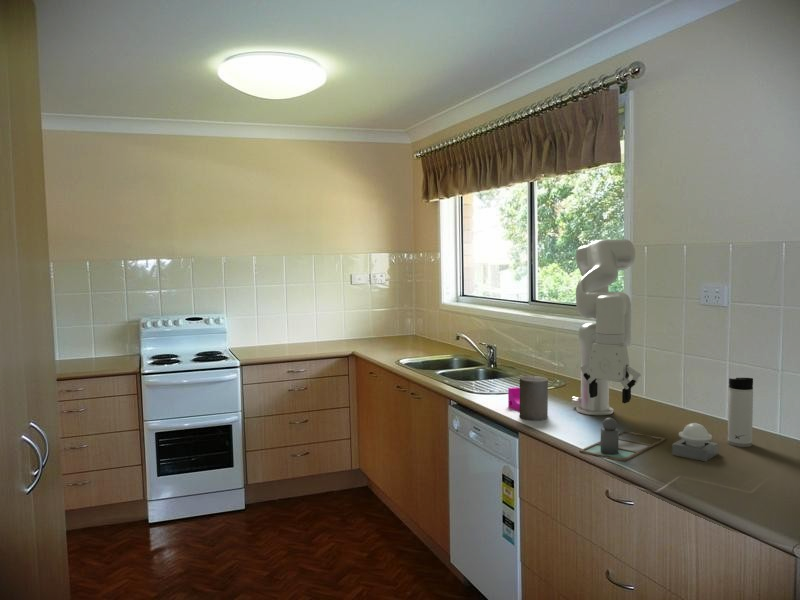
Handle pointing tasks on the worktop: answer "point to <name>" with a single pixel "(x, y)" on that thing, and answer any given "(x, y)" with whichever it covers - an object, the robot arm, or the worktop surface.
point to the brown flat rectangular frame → (623, 448)
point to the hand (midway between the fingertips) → (609, 399)
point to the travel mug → (740, 412)
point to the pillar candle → (533, 398)
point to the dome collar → (695, 450)
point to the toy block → (514, 398)
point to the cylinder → (609, 437)
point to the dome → (695, 435)
